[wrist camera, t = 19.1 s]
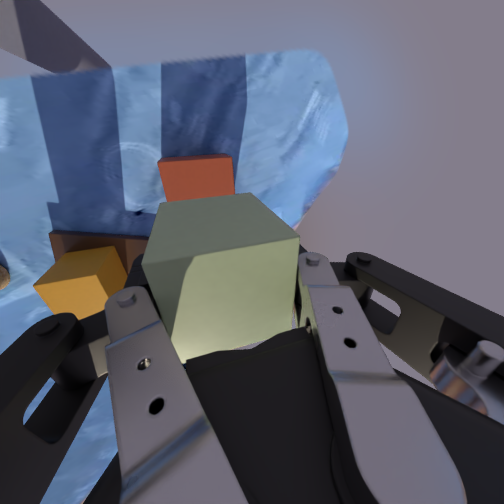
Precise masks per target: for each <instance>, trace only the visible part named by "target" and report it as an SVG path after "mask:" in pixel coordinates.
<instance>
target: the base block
mask: <svg viewBox="0 0 504 504" xmlns="http://www.w3.org/2000/svg"><path fill="white" fill-rule="evenodd" d="M157 163H158V167H159V171H160V175H161V179H162V183H163V187H164V191H165V195H166V199H167V202H172V201H181V200H190V199H198V198H207V197H216V196H224V195H233V194H235V187H234V175H233V162H232V157H231V156H229V155H227V154H211V155H196V156H181V157H166V158H161V159H160V160H159V161H158V162H157Z"/></svg>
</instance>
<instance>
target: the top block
mask: <svg viewBox="0 0 504 504" xmlns="http://www.w3.org/2000/svg"><path fill="white" fill-rule="evenodd" d="M127 277H128V276H127V274H126V271H125V269H124V267H123V265H122V262H121V260H120V258H119V256H118V253H117V251H116V249H115V247H114V246H108V247H102V248H95V249H89V250H82V251H75V252H69V253H65V254H64V255H63V256H62V257H61V258H60V259H59V260H58V261H57V262H56V263H55V264H54V265H53V266H52V267H51V268H50V269H49V270H48V271H47V272H46V273H45V274H44V275H43V276H42V277H41V278H40V279H39V280H38V281H37V282H36V283H35V284H34V285H33V287H34V288H35V290H36V291H37V292H38V294H39V295H40V296H41V298H42V299H43V300H44V302H45V303H46V304H47V306H48V307H49V308H50V309H51V311H52V312H53V313H54V315H55V314H58V313H64V312H69V313H73V314H74V315H75V316H76V317H77V318H78V320H80V319H83V318H85V317H88V316H90V315H93V314H95V313H98V312H100V311H102V310H104V309H105V308H104V305H105V303H106V301H107V300H108V298H110V297H111V296H112V295H113V294H115V293H116V292H118V291H120V290H122V289H123V288H124V285H125V282H126V280H127Z"/></svg>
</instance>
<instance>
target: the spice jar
mask: <svg viewBox="0 0 504 504" xmlns="http://www.w3.org/2000/svg"><path fill="white" fill-rule="evenodd" d="M9 282H10V275H9V273H8V271H7V270H6V269H5V268H4V267H2V266H1V265H0V290H1V289H3V288H5V287H6V286H7V285H8V284H9Z"/></svg>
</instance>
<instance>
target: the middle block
mask: <svg viewBox="0 0 504 504" xmlns="http://www.w3.org/2000/svg"><path fill="white" fill-rule="evenodd" d="M299 244H300V235H299V234H298V233H296V232H295V231H294V230H293V229H292V228H291V227H290V226H288V225H287V224H286V223H285V222H284V221H283V220H282V219H280V218H279V217H278V216H277V215H276V214H275V213H274V212H272V211H271V210H270V209H269V208H268V207H267V206H266V205H264V204H263V203H262V202H261V201H260V200H259V199H258V198H256V197H255V196H254V195H253V194H252V193H242V194H233V195H224V196H216V197H207V198H198V199H190V200H181V201H172V202H164V203H160V205H159V208H158V211H157V214H156V218H155V221H154V224H153V227H152V230H151V234H150V237H149V240H148V243H147V247H146V250H145V253H144V256H143V260H142V263H141V265H142V268H143V270H144V273H145V276H146V278H147V281H148V283H149V286H150V289H151V291H152V294H153V296H154V299H155V302H156V304H157V307H158V309H159V312H160V315H161V317H162V320H163V322H164V325H165V328H166V330H167V333H168V335H169V337H170V339H171V341H172V344H173V346H174V348H175V350H176V352H177V354H178V356H179V359H180V361H181V363H182V364H183V363H186V360H187V359H191V358H194V357H198V356H201V355H205V354H208V353H212V352H215V351H223V350H231V349H235V348H238V347H241V346H245V345H248V344H252V343H255V342H259V341H262V340H266V339H269V338H271V337H273V336H275V335H276V334H278V333H282V332H285V331H289V330H291V328H292V327H291V326H292V318H293V307H294V297H295V286H296V276H297V265H298V255H299Z"/></svg>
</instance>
